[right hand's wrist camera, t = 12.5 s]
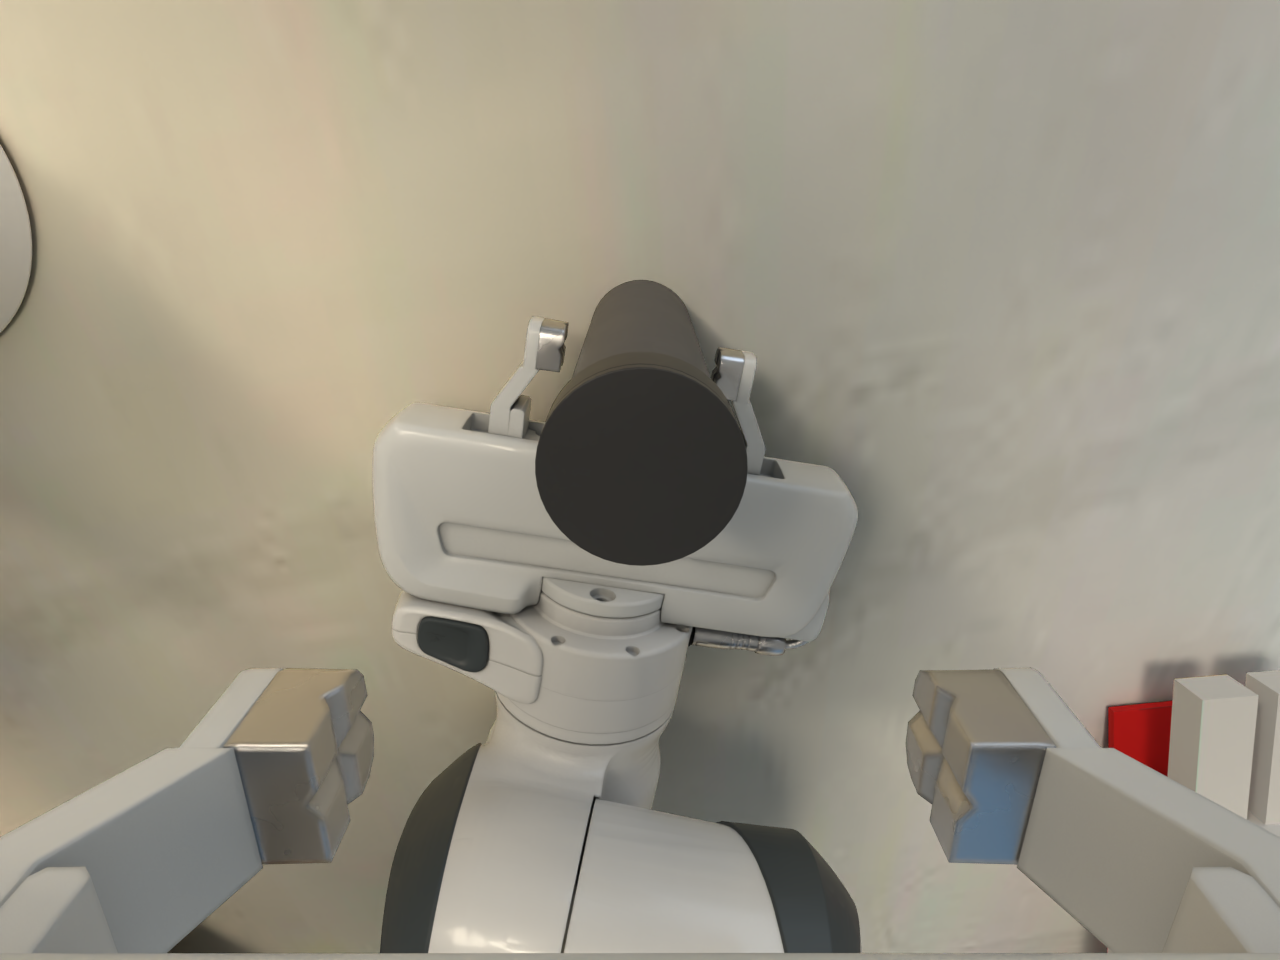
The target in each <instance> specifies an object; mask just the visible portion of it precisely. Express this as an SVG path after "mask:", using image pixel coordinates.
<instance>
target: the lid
mask: <svg viewBox="0 0 1280 960" xmlns="http://www.w3.org/2000/svg"><path fill="white" fill-rule="evenodd" d="M747 472H748V464H747V452H746V447H745V442H744V439H743V436H742V433H741V430H740V428H739V425H738V422H737V420H736V417H735V415H734V412H733V410H732V408H731V406H730V404H729V402H728V400H727V398H726V397H725V395H724V394H723V392H722V391H721V389H720V388H719V387H718V386H717V385H716V384H715V383H714V382H713V380H712V379H710V378H709V377H708V376H707V375H706V374H705V373H703V372H702V371H701V370H699V369H698V368H696V367H695V366H693V365H691V364H689V363H687V362H685V361H683V360H681V359H679V358H676V357H673V356H669V355H666V354H661V353H655V352H640V351H639V352H627V353H622V354H617V355H613V356H610V357H607V358H604V359H602V360H599V361H597V362H595V363H593V364H591V365H590V366H588V367H586V368H585V369H584V370H582V371H581V372H579V373H578V374H577V375H576V376H575V377H573V378H572V379H571V380H570V381H569V382H568V383H567V384H566V386H565V387H564V388H563V389H562V390H561V392H560V393H559V395H558V396H557V398H556V400H555V401H554V403H553V405H552V407H551V409H550V412H549V414H548V417H547V419H546V422H545V424H544V427H543V429H542V432H541V435H540V438H539V442H538V445H537V450H536V458H535V475H536V482H537V488H538V491H539V494H540V498H541V500H542V503H543V505H544V507H545V509H546V511H547V513H548V514H549V516H550V518H551V519H552V521H553V522H554V523H555V525H556V526H557V527H558V528H559V530H560V531H561V532H562V533H563V534H564V535H565V536H566V537H567V538H568V539H569V540H571V541H572V542H573V543H575V544H576V545H577V546H579V547H580V548H582V549H583V550H585V551H587V552H589V553H590V554H592V555H595V556H597V557H599V558H602V559H604V560H608V561H611V562H615V563H619V564H625V565H636V566H647V565H658V564H663V563H668V562H672V561H675V560H678V559H681V558H684V557H686V556H688V555H690V554H692V553H694V552H696V551H698V550H699V549H701V548H703V547H704V546H706V545H707V544H708V543H709V542H711V541H712V540H713V539H714V538H716V537H717V535H718V534H719V533H720V532H721V531H722V530H723V529H724V528H725V527H726V526H727V524H728V523H729V522H730V520H731V519H732V517H733V516H734V514H735V512H736V510H737V509H738V507H739V504H740V502H741V499H742V497H743V494H744V490H745V486H746V481H747Z"/></svg>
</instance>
